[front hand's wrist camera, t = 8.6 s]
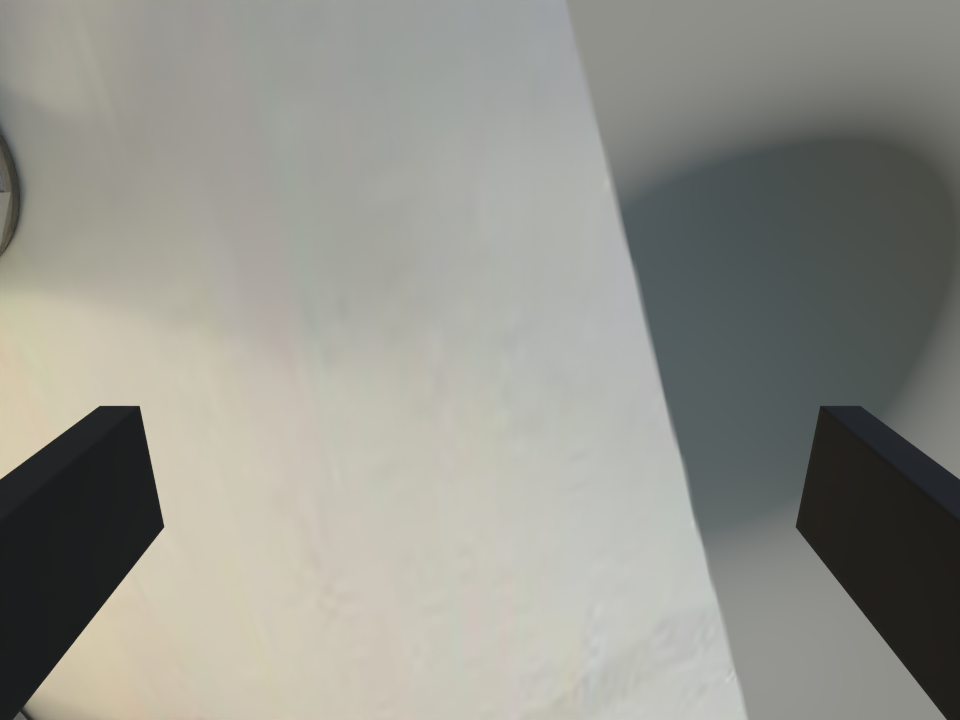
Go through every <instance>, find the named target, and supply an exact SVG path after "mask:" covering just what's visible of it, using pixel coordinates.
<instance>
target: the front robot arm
mask: <svg viewBox="0 0 960 720" xmlns="http://www.w3.org/2000/svg"><path fill="white" fill-rule="evenodd" d="M18 211H19V187H18V180H17V175H16V171H15V167H14V163H13V160H12V157H11V154H10V152H9V149H8V147H7V145H6V143H5V140H4V138H3V136H2V135H1V133H0V255H1V254H2V252H3V251H4V249H5V248H6V247H7V245H8V243H9V241H10V239H11V237H12V235H13V232H14V229H15V226H16V222H17V218H18ZM163 528H164V523H163V518H162V514H161V509H160V504H159V499H158V494H157V489H156V484H155V479H154V474H153V469H152V464H151V460H150V455H149V450H148V445H147V440H146V435H145V430H144V425H143V420H142V415H141V411H140V406H99V407H98V408H96V409H95V410H94V411H92V412H91V413H90V414H88V415H87V416H86V417H84V418H83V419H82V420H80V421H79V422H78V423H76V424H75V425H73V426H72V427H71V428H69V429H68V430H67V431H65V432H64V433H63V434H61V435H60V436H59V437H57V438H56V439H55V440H53V441H52V442H50V443H49V444H48V445H46V446H45V447H44V448H42V449H41V450H40V451H38V452H37V453H36V454H34V455H33V456H32V457H30V458H29V459H28V460H26V461H25V462H23V463H22V464H21V465H19V466H18V467H17V468H15V469H14V470H13V471H11V472H10V473H9V474H7V475H6V476H5V477H3V478H2V479H0V720H13V719H14V718H15V717H16V715H17V714H18V713H19V712H20V710H21V709H22V708H23V706H24V705H25V704H26V703H27V701H28V700H29V699H30V697H31V696H32V695H33V694H34V692H35V691H36V690H37V689H38V687H39V686H40V685H41V683H42V682H43V681H44V680H45V678H46V677H47V676H48V675H49V673H50V672H51V671H52V669H53V668H54V667H55V666H56V664H57V663H58V662H59V661H60V659H61V658H62V657H63V655H64V654H65V653H66V652H67V650H68V649H69V648H70V647H71V645H72V644H73V643H74V641H75V640H76V639H77V638H78V636H79V635H80V634H81V632H82V631H83V630H84V629H85V627H86V626H87V625H88V624H89V622H90V621H91V620H92V618H93V617H94V616H95V615H96V613H97V612H98V611H99V610H100V608H101V607H102V606H103V604H104V603H105V602H106V601H107V599H108V598H109V597H110V596H111V594H112V593H113V592H114V590H115V589H116V588H117V587H118V585H119V584H120V583H121V582H122V580H123V579H124V578H125V576H126V575H127V574H128V573H129V571H130V570H131V569H132V568H133V566H134V565H135V564H136V562H137V561H138V560H139V559H140V557H141V556H142V555H143V553H144V552H145V551H146V550H147V548H148V547H149V546H150V545H151V543H152V542H153V541H154V539H155V538H156V537H157V536H158V534H159V533H160V532H161V531H162V529H163ZM796 528H797V529H798V531H799V532H800V533H801V534H802V536H803V537H804V538H805V539H806V541H807V542H808V543H809V544H810V546H811V547H812V548H813V550H814V551H815V552H816V553H817V555H818V556H819V557H820V559H821V560H822V561H823V562H824V564H825V565H826V566H827V568H828V569H829V570H830V571H831V573H832V574H833V575H834V576H835V578H836V579H837V580H838V582H839V583H840V584H841V585H842V587H843V588H844V589H845V590H846V592H847V593H848V594H849V596H850V597H851V598H852V599H853V601H854V602H855V603H856V604H857V606H858V607H859V608H860V610H861V611H862V612H863V613H864V615H865V616H866V617H867V618H868V620H869V621H870V622H871V623H872V625H873V626H874V627H875V629H876V630H877V631H878V632H879V634H880V635H881V636H882V638H883V639H884V640H885V641H886V643H887V644H888V645H889V647H890V648H891V649H892V650H893V652H894V653H895V654H896V655H897V657H898V658H899V659H900V661H901V662H902V663H903V664H904V666H905V667H906V668H907V669H908V671H909V672H910V673H911V674H912V676H913V677H914V678H915V680H916V681H917V682H918V683H919V685H920V686H921V687H922V689H923V690H924V691H925V692H926V694H927V695H928V696H929V697H930V699H931V700H932V701H933V703H934V704H935V705H936V706H937V708H938V709H939V710H940V712H941V713H942V714H943V715H944V717H945V718H946V719H947V720H960V479H958V478H957V477H955V476H954V475H953V474H951V473H950V472H949V471H947V470H946V469H945V468H943V467H942V466H941V465H939V464H938V463H937V462H935V461H934V460H932V459H931V458H930V457H928V456H927V455H926V454H924V453H923V452H922V451H920V450H919V449H918V448H916V447H915V446H913V445H912V444H911V443H910V442H908V441H907V440H905V439H904V438H903V437H901V436H900V435H899V434H897V433H896V432H895V431H893V430H892V429H891V428H889V427H888V426H887V425H885V424H884V423H882V422H881V421H880V420H878V419H877V418H876V417H874V416H873V415H872V414H870V413H869V412H868V411H866V410H865V409H864V408H862V407H861V406H820V411H819V415H818V420H817V425H816V430H815V435H814V440H813V445H812V450H811V455H810V460H809V464H808V469H807V474H806V479H805V484H804V489H803V494H802V499H801V504H800V509H799V514H798V518H797V523H796Z"/></svg>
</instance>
